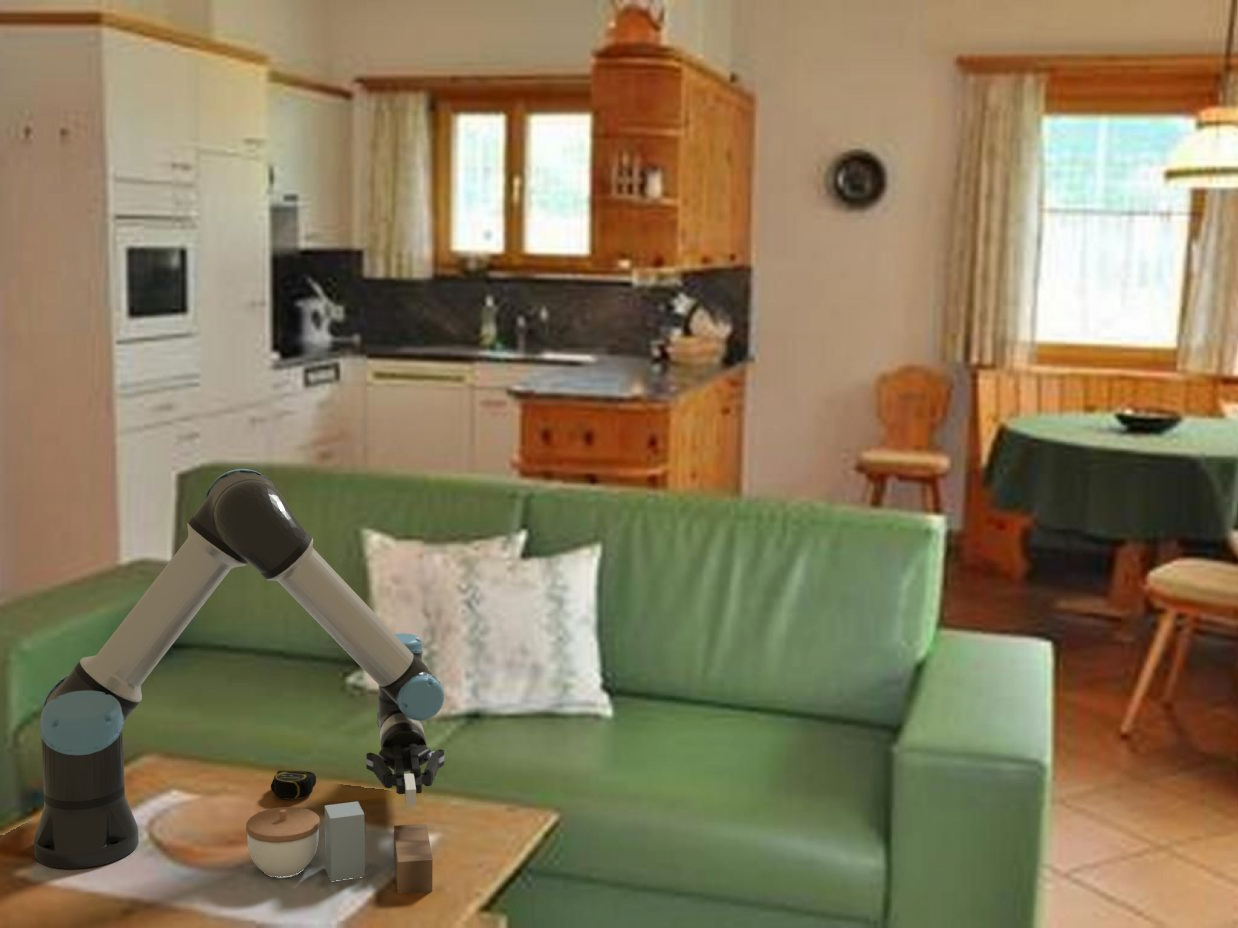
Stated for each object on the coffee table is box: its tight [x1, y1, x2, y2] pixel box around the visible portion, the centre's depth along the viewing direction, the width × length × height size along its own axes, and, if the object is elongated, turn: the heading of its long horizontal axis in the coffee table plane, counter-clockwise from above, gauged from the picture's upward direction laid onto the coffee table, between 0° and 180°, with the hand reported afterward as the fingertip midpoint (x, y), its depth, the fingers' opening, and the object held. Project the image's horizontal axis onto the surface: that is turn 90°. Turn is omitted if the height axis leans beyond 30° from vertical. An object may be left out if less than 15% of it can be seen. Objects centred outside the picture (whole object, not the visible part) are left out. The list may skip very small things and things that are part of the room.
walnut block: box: [393, 823, 433, 895], centre depth 212 cm, size 5×5×13 cm
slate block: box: [324, 800, 366, 882], centre depth 211 cm, size 5×5×10 cm
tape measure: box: [270, 770, 317, 800], centre depth 240 cm, size 7×7×4 cm
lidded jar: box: [245, 806, 321, 877], centre depth 212 cm, size 11×11×9 cm
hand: (411, 797), depth 215 cm, fingers closed
